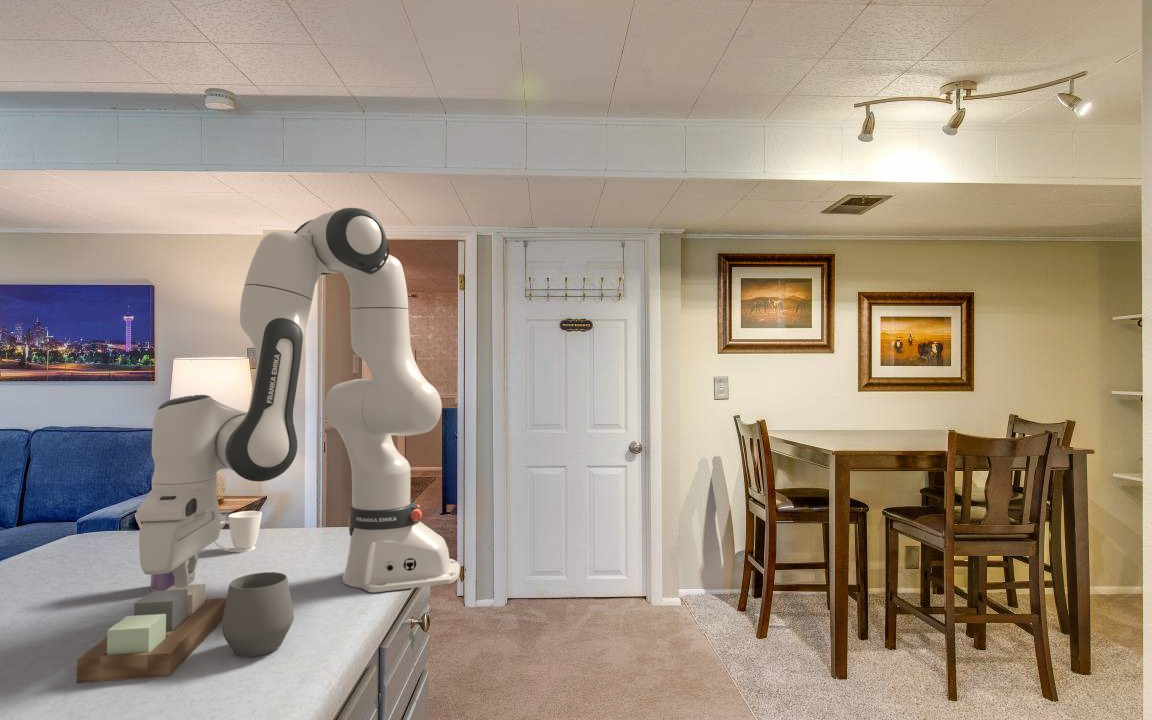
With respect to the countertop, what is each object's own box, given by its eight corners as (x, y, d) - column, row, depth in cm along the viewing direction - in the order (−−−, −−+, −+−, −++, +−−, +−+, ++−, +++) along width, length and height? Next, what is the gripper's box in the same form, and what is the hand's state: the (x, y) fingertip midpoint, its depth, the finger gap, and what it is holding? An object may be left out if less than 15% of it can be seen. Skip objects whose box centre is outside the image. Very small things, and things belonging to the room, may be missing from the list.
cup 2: (217, 668, 87) (218, 594, 87) (224, 641, 95) (225, 574, 95) (293, 656, 90) (294, 585, 90) (293, 631, 99) (294, 567, 99)
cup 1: (265, 550, 143) (266, 514, 144) (215, 558, 137) (216, 521, 137) (257, 543, 149) (258, 509, 149) (209, 551, 142) (209, 515, 142)
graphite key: (186, 618, 97) (187, 589, 97) (172, 631, 92) (172, 601, 92) (150, 620, 96) (151, 591, 96) (133, 634, 91) (134, 603, 91)
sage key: (165, 645, 90) (166, 613, 90) (148, 660, 85) (148, 627, 85) (126, 647, 89) (127, 616, 89) (106, 663, 84) (107, 630, 84)
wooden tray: (227, 615, 105) (227, 597, 105) (169, 675, 84) (169, 653, 84) (153, 620, 103) (154, 601, 103) (76, 682, 82) (76, 659, 82)
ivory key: (205, 611, 104) (205, 584, 104) (192, 623, 99) (192, 594, 99) (171, 613, 103) (172, 585, 103) (156, 625, 98) (157, 596, 98)
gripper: (191, 485, 111) (191, 565, 111) (129, 513, 91) (129, 609, 91) (230, 484, 112) (230, 563, 112) (177, 511, 92) (178, 606, 92)
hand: (184, 584), depth 101 cm, fingers closed
